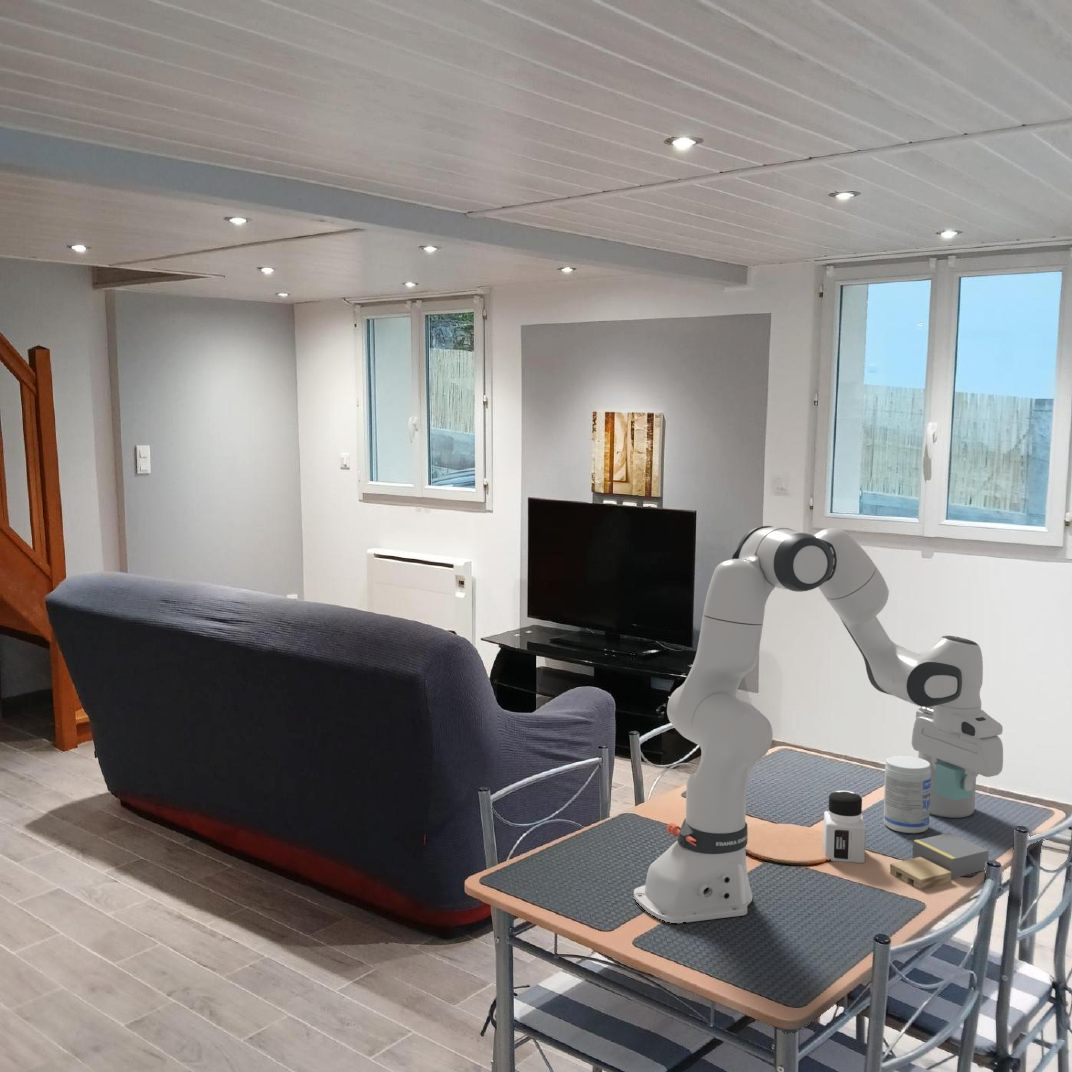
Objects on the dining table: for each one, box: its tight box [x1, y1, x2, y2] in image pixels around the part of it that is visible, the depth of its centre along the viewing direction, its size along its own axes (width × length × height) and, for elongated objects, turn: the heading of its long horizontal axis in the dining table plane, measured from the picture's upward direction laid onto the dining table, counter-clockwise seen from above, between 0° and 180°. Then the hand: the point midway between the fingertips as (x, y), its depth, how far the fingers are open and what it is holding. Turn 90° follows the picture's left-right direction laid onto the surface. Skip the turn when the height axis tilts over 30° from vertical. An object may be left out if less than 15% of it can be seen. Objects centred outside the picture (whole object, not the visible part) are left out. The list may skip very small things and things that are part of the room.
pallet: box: [889, 857, 952, 890], centre depth 208 cm, size 8×8×2 cm
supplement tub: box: [883, 755, 931, 834], centre depth 233 cm, size 10×10×15 cm
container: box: [822, 790, 867, 864], centre depth 218 cm, size 8×8×13 cm
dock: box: [912, 832, 989, 880], centre depth 214 cm, size 10×10×4 cm
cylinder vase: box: [917, 706, 977, 819], centre depth 243 cm, size 12×12×25 cm
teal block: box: [934, 762, 973, 801], centre depth 212 cm, size 5×5×6 cm
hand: (953, 784), depth 212 cm, fingers closed on teal block, 5 cm apart
